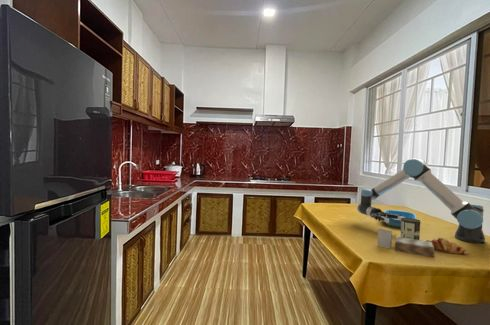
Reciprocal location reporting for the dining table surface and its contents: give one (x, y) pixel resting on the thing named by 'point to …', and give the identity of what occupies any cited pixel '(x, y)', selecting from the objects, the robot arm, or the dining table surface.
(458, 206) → the robot arm
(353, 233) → the dining table surface
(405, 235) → the coffee can
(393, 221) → the casserole dish
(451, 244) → the croissant
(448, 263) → the dining table surface
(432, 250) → the stand
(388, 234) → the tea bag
